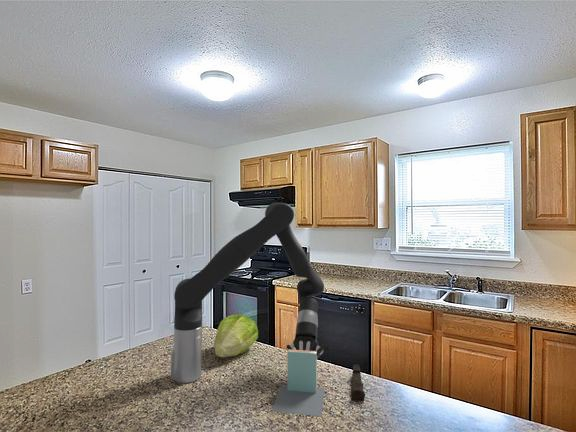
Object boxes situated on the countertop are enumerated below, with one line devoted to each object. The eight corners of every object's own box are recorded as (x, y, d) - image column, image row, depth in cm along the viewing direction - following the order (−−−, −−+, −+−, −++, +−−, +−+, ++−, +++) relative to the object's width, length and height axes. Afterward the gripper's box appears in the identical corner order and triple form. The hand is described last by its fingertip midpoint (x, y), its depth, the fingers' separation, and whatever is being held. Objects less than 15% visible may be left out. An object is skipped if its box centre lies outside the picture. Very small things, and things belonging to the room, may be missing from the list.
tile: (287, 390, 105) (287, 351, 106) (288, 387, 107) (288, 349, 108) (316, 392, 104) (316, 353, 104) (316, 389, 106) (316, 351, 106)
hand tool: (364, 404, 99) (365, 388, 99) (351, 403, 100) (351, 387, 100) (364, 376, 117) (364, 363, 118) (352, 375, 118) (352, 362, 118)
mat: (271, 413, 93) (271, 411, 93) (281, 386, 109) (281, 384, 109) (321, 418, 91) (321, 416, 91) (324, 390, 107) (324, 388, 107)
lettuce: (196, 364, 128) (200, 328, 126) (225, 336, 151) (229, 305, 149) (237, 376, 124) (241, 340, 122) (261, 345, 147) (264, 314, 145)
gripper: (287, 319, 118) (280, 369, 106) (325, 321, 116) (322, 372, 104) (289, 330, 123) (283, 378, 111) (325, 332, 121) (323, 382, 109)
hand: (302, 375), depth 107 cm, fingers closed
